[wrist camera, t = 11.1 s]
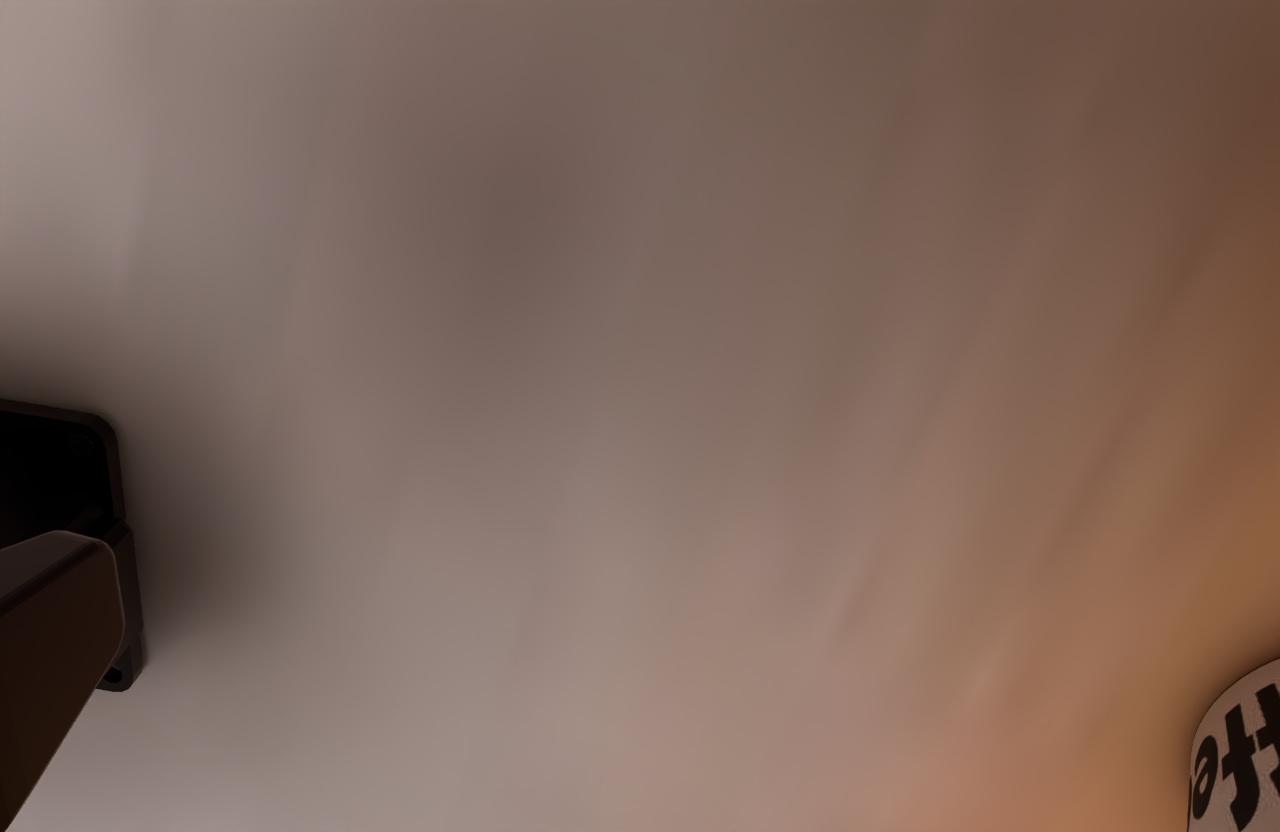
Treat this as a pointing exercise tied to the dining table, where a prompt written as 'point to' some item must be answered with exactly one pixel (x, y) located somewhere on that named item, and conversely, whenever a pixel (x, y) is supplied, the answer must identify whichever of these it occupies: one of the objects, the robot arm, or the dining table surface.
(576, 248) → the dining table surface
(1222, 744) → the cup
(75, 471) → the robot arm
